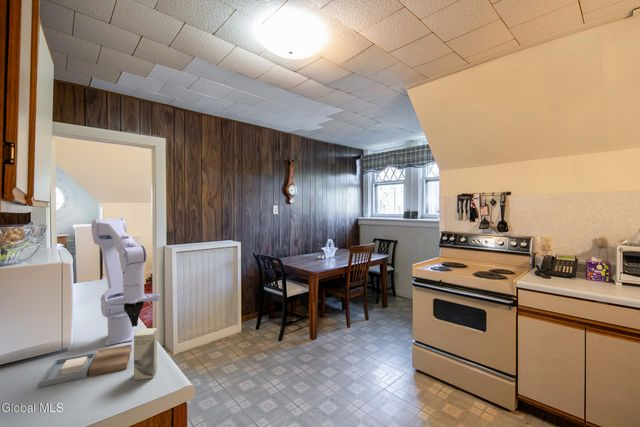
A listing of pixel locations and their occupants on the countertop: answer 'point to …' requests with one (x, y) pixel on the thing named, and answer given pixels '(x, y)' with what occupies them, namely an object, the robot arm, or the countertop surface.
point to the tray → (55, 376)
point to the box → (145, 353)
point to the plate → (110, 360)
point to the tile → (74, 366)
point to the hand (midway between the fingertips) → (134, 325)
